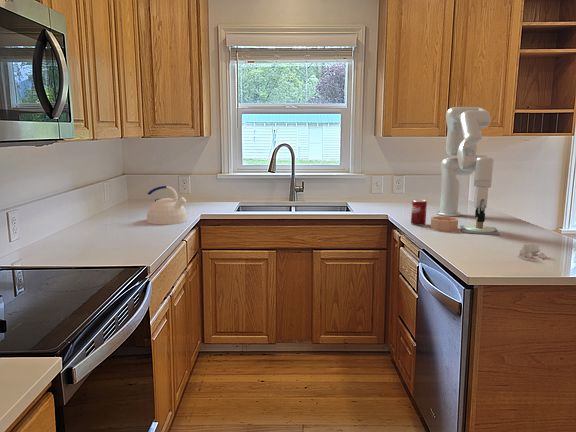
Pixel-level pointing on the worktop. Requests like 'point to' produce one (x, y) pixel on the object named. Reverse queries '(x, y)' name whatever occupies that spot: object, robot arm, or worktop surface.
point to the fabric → (530, 252)
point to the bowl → (444, 223)
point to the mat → (479, 232)
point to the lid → (479, 228)
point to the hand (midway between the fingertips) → (479, 219)
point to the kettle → (167, 209)
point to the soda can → (418, 212)
